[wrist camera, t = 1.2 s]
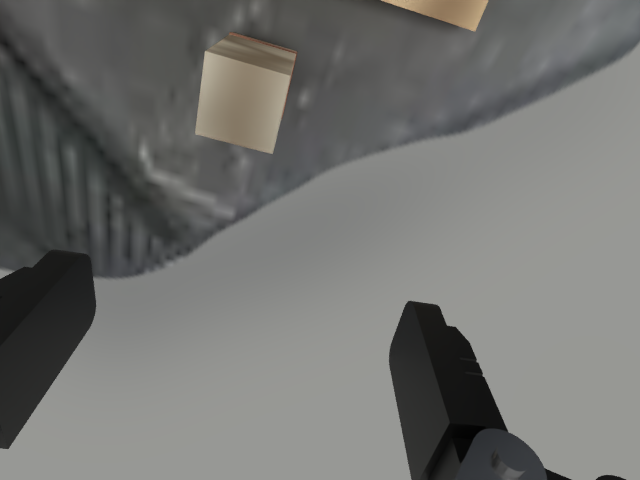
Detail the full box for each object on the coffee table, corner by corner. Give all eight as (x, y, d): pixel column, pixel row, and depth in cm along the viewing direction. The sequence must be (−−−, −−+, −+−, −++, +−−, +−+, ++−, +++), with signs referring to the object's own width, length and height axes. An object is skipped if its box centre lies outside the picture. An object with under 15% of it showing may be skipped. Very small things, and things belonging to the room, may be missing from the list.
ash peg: (228, 88, 30) (193, 134, 21) (238, 26, 27) (204, 49, 19) (285, 104, 30) (273, 155, 22) (299, 45, 28) (291, 74, 20)
